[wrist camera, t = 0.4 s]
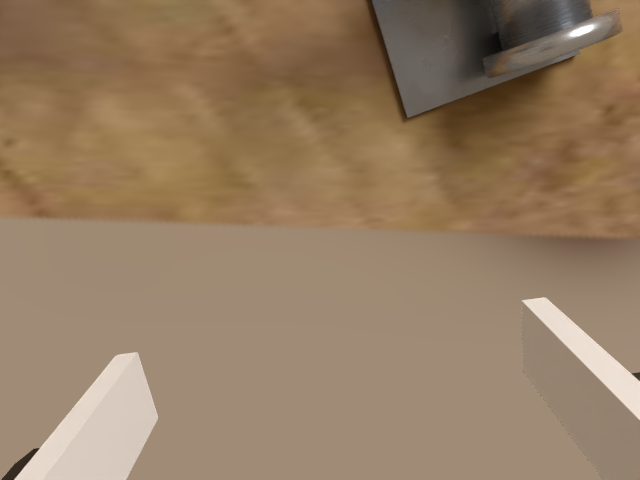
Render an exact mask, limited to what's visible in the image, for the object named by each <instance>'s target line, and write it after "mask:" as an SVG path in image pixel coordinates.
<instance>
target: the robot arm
mask: <svg viewBox="0 0 640 480" xmlns="http://www.w3.org/2000/svg"><path fill="white" fill-rule="evenodd" d="M522 337H523V338H522V340H523V372H524V374H525V375H526V377H527V378H528V379H529V381H530V382H531V383H532V385H533V386H534V387H535V389H536V390H537V391H538V393H539V394H540V396H541V397H542V398H543V400H544V401H545V402H546V404H547V405H548V407H549V408H550V409H551V411H552V412H553V413H554V415H555V416H556V417H557V419H558V420H559V421H560V423H561V424H562V426H563V427H564V428H565V430H566V431H567V432H568V434H569V435H570V436H571V438H572V439H573V441H574V442H575V443H576V445H577V446H578V447H579V449H580V450H581V451H582V453H583V454H584V456H585V457H586V458H587V460H588V461H589V462H590V464H591V465H592V467H593V468H594V469H595V470H596V472H597V473H598V475H599V476H600V477H601V479H602V480H640V373H632V374H631V373H630V372H629V371H627V370H626V369H625V368H624V367H623V366H622V365H621V364H620V363H618V362H617V361H616V360H615V359H614V358H613V357H612V356H610V355H609V354H608V353H607V352H606V351H605V350H604V349H603V348H602V347H600V346H599V345H598V344H597V343H596V342H595V341H594V340H592V339H591V338H590V337H589V336H588V335H587V334H586V333H585V332H584V331H582V330H581V329H580V328H579V327H578V326H577V325H576V324H574V323H573V322H572V321H571V320H570V319H569V318H568V317H567V316H566V315H564V314H563V313H562V312H561V311H560V310H559V309H558V308H557V307H555V306H554V305H553V304H552V303H551V302H550V301H549V300H548V299H546V298H545V297H544V298H538V299H529V300H523V301H522ZM157 420H158V415H157V412H156V409H155V406H154V403H153V400H152V396H151V393H150V390H149V387H148V384H147V381H146V377H145V374H144V371H143V368H142V365H141V362H140V359H139V355H138V352H136V353H129V354H121V355H116V356H115V357H114V358H113V360H112V361H111V362H110V363H109V365H108V366H107V367H106V368H105V370H104V371H103V372H102V373H101V374H100V376H99V377H98V378H97V379H96V381H95V382H94V383H93V384H92V385H91V387H90V388H89V389H88V390H87V392H86V393H85V394H84V395H83V396H82V398H81V399H80V400H79V402H77V404H76V405H75V406H74V407H73V409H72V410H71V411H70V412H69V414H68V415H67V416H66V417H65V418H64V420H63V421H62V422H61V423H60V424H59V426H58V427H57V428H56V429H55V431H54V432H53V433H52V434H51V436H50V437H49V438H48V439H47V440H46V442H45V443H44V444H43V445H42V446H41V448H37V449H33V450H32V451H31V452H29V453H28V454H27V455H26V456H25V457H23V458H22V459H21V460H19V461H18V462H17V463H16V464H14V466H13V467H12V468H11V469H10V470H9V472H8V473H7V474H6V475H5V476H4V477H3V478H2V480H126V479H127V477H128V475H129V473H130V471H131V469H132V467H133V465H134V463H135V462H136V460H137V458H138V456H139V453H140V452H141V450H142V448H143V446H144V444H145V442H146V440H147V439H148V437H149V435H150V433H151V431H152V429H153V427H154V425H155V423H156V421H157Z"/></svg>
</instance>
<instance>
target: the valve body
mask: <svg viewBox="0 0 640 480" xmlns="http://www.w3.org/2000/svg"><path fill="white" fill-rule="evenodd" d="M371 2H372V5H373V9H374V12H375V15H376V19H377V22H378V25H379V29H380V32H381V35H382V38H383V42H384V45H385V48H386V52H387V55H388V58H389V62H390V65H391V68H392V72H393V75H394V78H395V82H396V85H397V88H398V92H399V95H400V98H401V101H402V105H403V108H404V111H405V115H406V118H409V117H412V116H414V115H417V114H420V113H422V112H425V111H428V110H430V109H433V108H436V107H438V106H441V105H444V104H446V103H449V102H452V101H454V100H457V99H460V98H462V97H465V96H468V95H471V94H473V93H476V92H479V91H481V90H484V89H487V88H489V87H492V86H495V85H497V84H500V83H503V82H505V81H508V80H511V79H513V78H516V77H519V76H521V75H524V74H527V73H530V72H532V71H535V70H538V69H540V68H543V67H546V66H548V65H551V64H554V63H556V62H559V61H562V60H564V59H567V58H570V57H572V56H575V55H578V54H580V51H579V50H580V49H582V48H585V47H588V46H590V45H593V44H595V43H598V42H600V41H603V40H605V39H608V38H610V37H612V36H615V35H617V34H619V33H621V32H622V25H621V18H620V12H619V8H617V9H614V10H611V11H608V12H605V13H602V14H599V15H596V16H593V14H592V9H591V3H590V0H371Z"/></svg>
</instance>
